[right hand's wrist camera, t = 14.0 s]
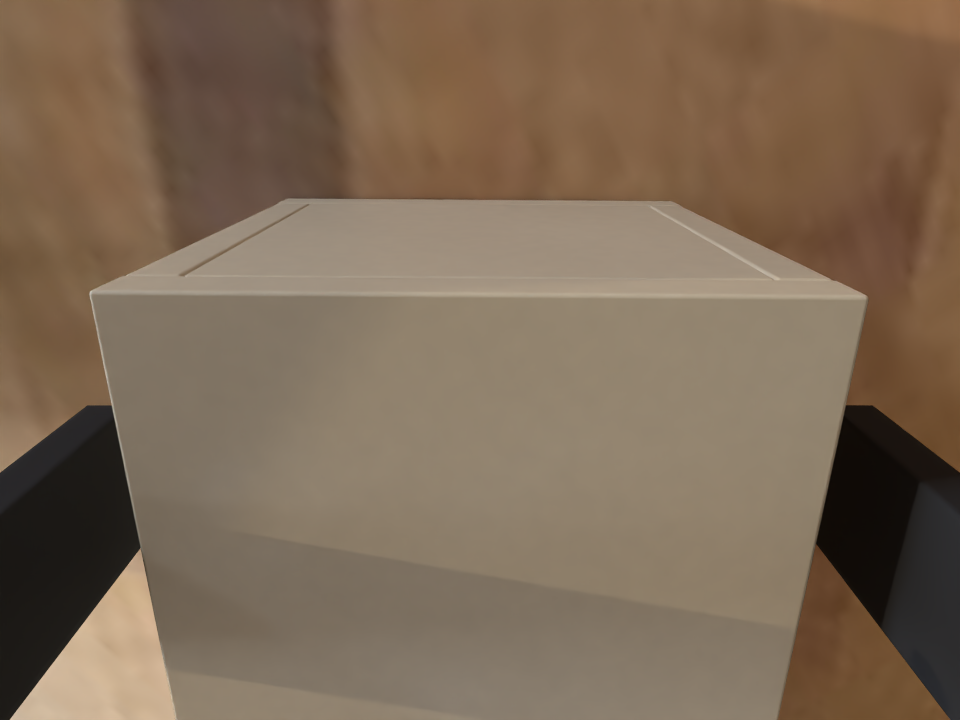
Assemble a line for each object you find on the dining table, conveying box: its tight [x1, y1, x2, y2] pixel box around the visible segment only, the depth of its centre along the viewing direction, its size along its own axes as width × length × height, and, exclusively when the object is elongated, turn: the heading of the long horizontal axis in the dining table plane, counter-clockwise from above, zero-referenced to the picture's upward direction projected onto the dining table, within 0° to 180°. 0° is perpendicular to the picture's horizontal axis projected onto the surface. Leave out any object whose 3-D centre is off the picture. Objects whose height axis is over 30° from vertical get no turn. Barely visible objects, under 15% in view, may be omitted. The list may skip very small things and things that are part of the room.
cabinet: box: [90, 199, 868, 720], centre depth 16 cm, size 19×10×9 cm, turn 0°
